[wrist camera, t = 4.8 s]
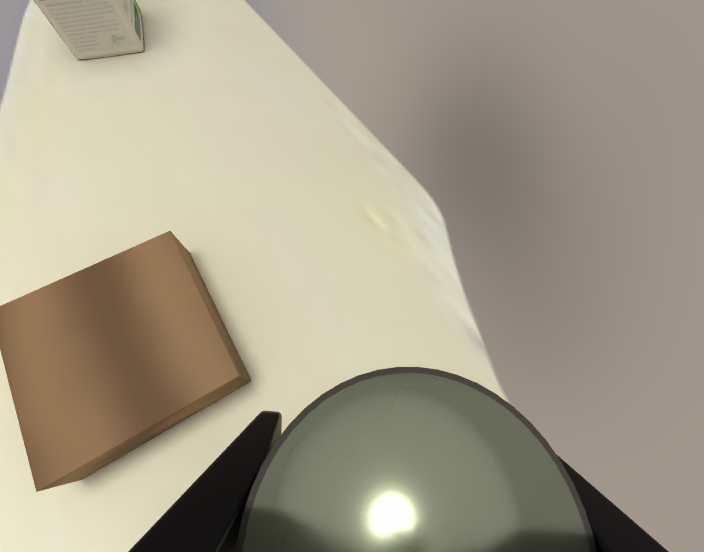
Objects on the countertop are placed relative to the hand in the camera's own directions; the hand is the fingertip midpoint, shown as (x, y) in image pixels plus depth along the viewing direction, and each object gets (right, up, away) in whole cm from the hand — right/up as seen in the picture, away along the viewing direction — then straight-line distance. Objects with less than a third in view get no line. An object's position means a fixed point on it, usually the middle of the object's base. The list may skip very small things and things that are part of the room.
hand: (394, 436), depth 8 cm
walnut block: (-14, -1, +14) cm, 20 cm away
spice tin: (0, -4, +6) cm, 7 cm away
